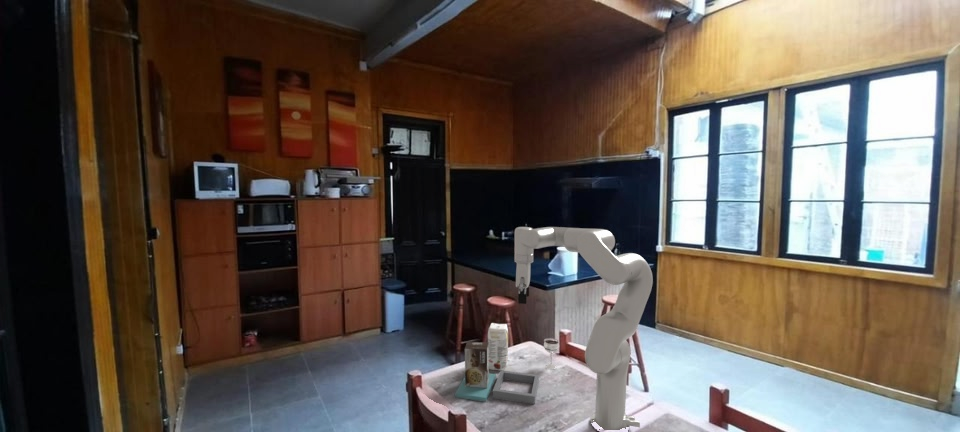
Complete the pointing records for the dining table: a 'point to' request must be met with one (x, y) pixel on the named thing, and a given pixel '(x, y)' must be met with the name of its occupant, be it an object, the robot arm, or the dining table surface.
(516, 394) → the holder
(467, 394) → the board
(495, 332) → the juice carton
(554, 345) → the wineglass
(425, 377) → the dining table surface
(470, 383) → the cookie box
